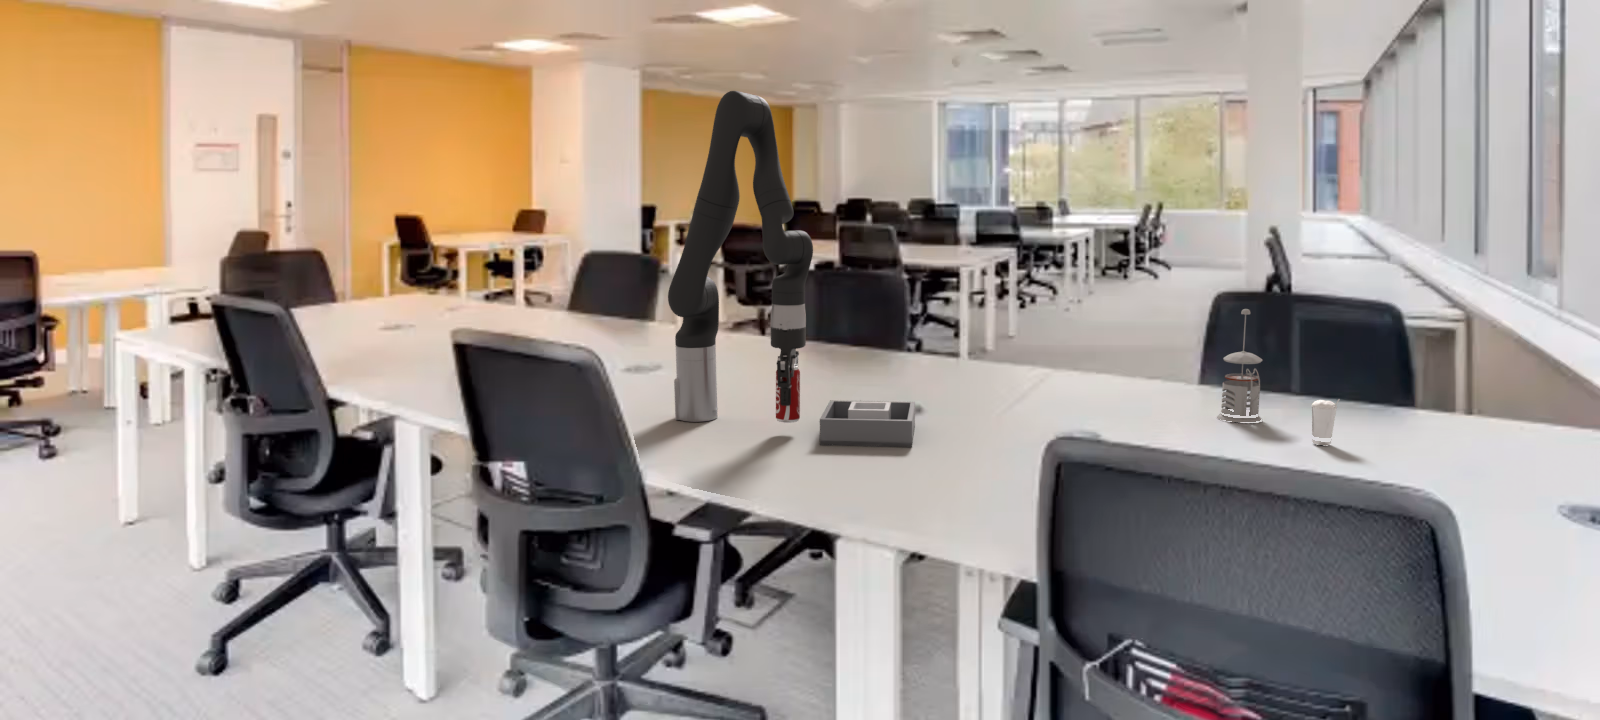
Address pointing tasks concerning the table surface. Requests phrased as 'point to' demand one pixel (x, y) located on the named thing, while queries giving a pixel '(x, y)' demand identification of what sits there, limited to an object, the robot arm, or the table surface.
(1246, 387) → the french press
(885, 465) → the table surface
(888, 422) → the box
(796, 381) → the soda can
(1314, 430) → the milkshake
